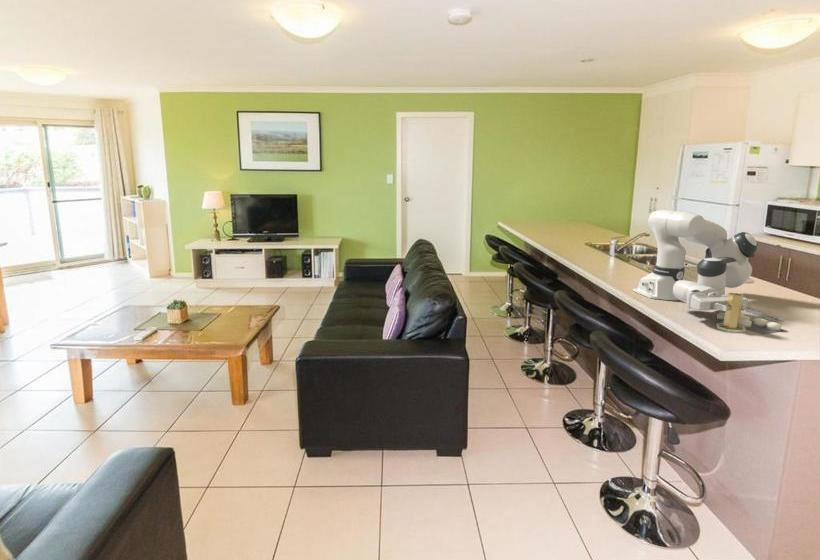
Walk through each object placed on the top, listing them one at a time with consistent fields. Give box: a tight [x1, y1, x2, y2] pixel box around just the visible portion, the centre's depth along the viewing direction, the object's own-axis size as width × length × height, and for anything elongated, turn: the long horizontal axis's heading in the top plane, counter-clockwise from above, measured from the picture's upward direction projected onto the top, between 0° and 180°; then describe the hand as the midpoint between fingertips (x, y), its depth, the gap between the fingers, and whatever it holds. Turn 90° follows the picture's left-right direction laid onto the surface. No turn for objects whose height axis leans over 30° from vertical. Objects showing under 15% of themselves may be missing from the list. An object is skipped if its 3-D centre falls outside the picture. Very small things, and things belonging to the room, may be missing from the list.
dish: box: [715, 322, 747, 334], centre depth 180 cm, size 9×9×2 cm
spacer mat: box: [712, 311, 787, 335], centre depth 185 cm, size 20×12×3 cm, turn 19°
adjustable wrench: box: [744, 306, 785, 323], centre depth 199 cm, size 25×6×2 cm, turn 177°
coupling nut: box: [722, 292, 744, 330], centre depth 179 cm, size 4×5×13 cm
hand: (735, 308), depth 177 cm, fingers open, 5 cm apart
